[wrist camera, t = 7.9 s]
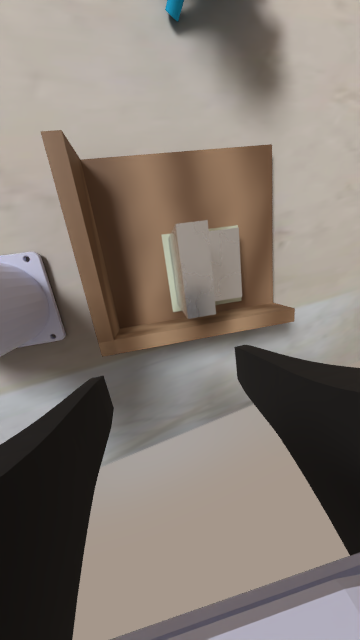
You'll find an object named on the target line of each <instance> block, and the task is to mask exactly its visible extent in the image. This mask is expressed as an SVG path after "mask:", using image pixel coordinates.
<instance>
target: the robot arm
mask: <svg viewBox="0 0 360 640" xmlns="http://www.w3.org/2000/svg"><path fill="white" fill-rule="evenodd" d="M27 256H28V257H29V258H30V261H29V262H28V261H27V260H26V257H27ZM52 334H55V336H56V338H54V337H53V336H52ZM65 336H66V333H65V330H64V327H63V324H62V321H61V318H60V315H59V311H58V308H57V305H56V302H55V299H54V296H53V293H52V290H51V286H50V283H49V280H48V277H47V274H46V271H45V268H44V264H43V261H42V258H41V256H40V255H39V254H38V253H36V252H26V253H18V254H9V255H1V256H0V357H1V356H3V355H5V354H6V353H8V352H10V351H12V350H13V349H15V348H18V347H24V346H30V345H36V344H42V343H47V342H53V341H59V340H62V339H64V338H65ZM235 355H236V366H237V377H238V380H239V382H240V384H241V386H242V388H243V389H244V391H245V392H246V394H247V395H248V397H249V398H250V399H251V401H252V402H253V403H254V405H255V406H256V407H257V408H258V410H259V411H260V412H261V413H262V415H263V416H264V417H265V419H266V420H267V421H268V422H269V423H270V425H271V426H272V427H273V429H274V430H275V431H276V433H277V434H278V436H279V437H280V438H281V439H282V441H283V443H284V445H285V446H286V448H287V449H288V451H289V452H290V454H291V455H292V457H293V458H294V460H295V462H296V463H297V465H298V467H299V468H300V470H301V471H302V473H303V475H304V476H305V478H306V480H307V481H308V483H309V484H310V486H311V488H312V490H313V491H314V493H315V495H316V496H317V498H318V500H319V501H320V503H321V505H322V507H323V508H324V510H325V512H326V513H327V515H328V517H329V519H330V520H331V522H332V524H333V526H334V528H335V529H336V531H337V533H338V535H339V536H340V538H341V540H342V542H343V543H344V546H345V547H346V549H347V551H348V553H349V554H350V556H348V557H345V558H342V559H340V560H337V561H334V562H331V563H328V564H325V565H322V566H320V567H316V568H314V569H311V570H308V571H305V572H302V573H299V574H297V575H294V576H291V577H288V578H285V579H282V580H279V581H276V582H274V583H271V584H268V585H265V586H262V587H259V588H256V589H254V590H251V591H248V592H245V593H242V594H239V595H237V596H233V597H231V598H228V599H225V600H222V601H219V602H216V603H213V604H211V605H208V606H205V607H202V608H199V609H196V610H193V611H191V612H188V613H185V614H182V615H179V616H176V617H173V618H171V619H168V620H165V621H162V622H159V623H156V624H153V625H150V626H147V627H145V628H142V629H139V630H136V631H133V632H130V633H128V634H125V635H122V636H119V637H116V638H113V639H110V640H360V368H353V367H344V366H336V365H329V364H323V363H317V362H311V361H306V360H302V359H298V358H293V357H289V356H285V355H282V354H278V353H275V352H271V351H268V350H264V349H261V348H257V347H254V346H249V345H242V346H237V347H235ZM113 409H114V408H113V405H112V402H111V398H110V395H109V392H108V389H107V385H106V382H105V379H104V376H100V377H95V378H91V379H90V380H88V381H87V382H85V383H84V384H83V385H81V386H80V387H79V388H78V389H76V390H75V391H74V392H73V393H72V394H70V395H69V396H68V397H67V398H65V399H64V400H63V401H62V402H60V403H59V404H58V405H57V406H55V407H54V408H53V409H51V410H50V411H49V412H47V413H46V414H45V415H43V416H42V417H41V418H40V419H38V420H37V421H35V422H34V423H33V424H31V425H30V426H28V427H27V428H25V429H24V430H22V431H21V432H19V433H18V434H16V435H15V436H13V437H12V438H10V439H9V440H7V441H6V442H4V443H2V444H1V445H0V640H72V637H73V629H74V620H75V612H76V603H77V596H78V589H79V582H80V575H81V567H82V561H83V554H84V547H85V541H86V535H87V529H88V523H89V517H90V511H91V506H92V500H93V495H94V489H95V485H96V481H97V477H98V473H99V469H100V466H101V462H102V459H103V455H104V451H105V448H106V444H107V441H108V437H109V433H110V429H111V424H112V417H113Z"/></svg>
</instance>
